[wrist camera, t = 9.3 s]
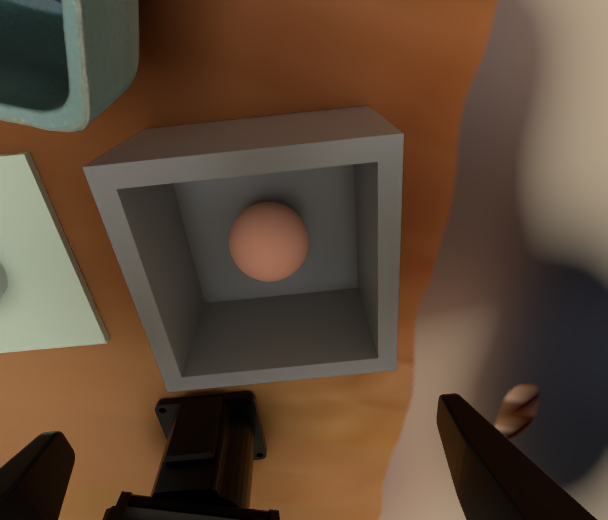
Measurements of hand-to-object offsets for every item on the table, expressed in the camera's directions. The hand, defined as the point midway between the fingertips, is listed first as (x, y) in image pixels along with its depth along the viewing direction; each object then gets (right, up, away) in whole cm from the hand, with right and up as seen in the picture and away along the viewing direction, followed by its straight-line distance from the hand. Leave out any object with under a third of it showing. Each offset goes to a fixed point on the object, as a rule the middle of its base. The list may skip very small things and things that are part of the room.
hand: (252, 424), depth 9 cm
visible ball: (0, +6, +10) cm, 11 cm away
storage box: (0, +6, +10) cm, 12 cm away
